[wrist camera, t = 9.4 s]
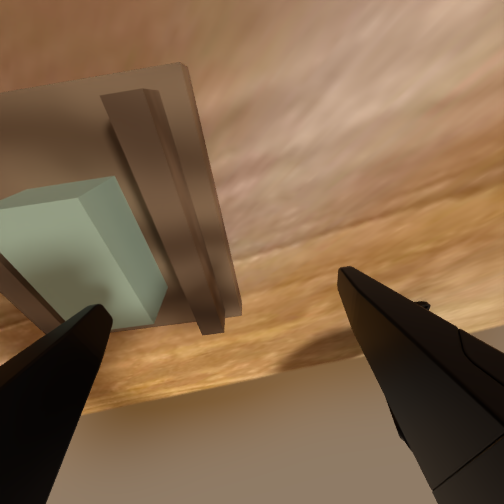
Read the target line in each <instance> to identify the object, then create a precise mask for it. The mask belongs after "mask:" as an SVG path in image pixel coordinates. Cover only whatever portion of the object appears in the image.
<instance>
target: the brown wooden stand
mask: <svg viewBox="0 0 504 504" xmlns="http://www.w3.org/2000/svg"><path fill="white" fill-rule="evenodd" d="M109 176H115V177H116V180H117V182H118V184H119V186H120V188H121V190H122V192H123V194H124V196H125V198H126V200H127V203H128V205H129V207H130V209H131V211H132V213H133V215H134V217H135V219H136V221H137V223H138V226H139V228H140V230H141V232H142V234H143V236H144V238H145V240H146V242H147V244H148V246H149V249H150V251H151V253H152V255H153V257H154V259H155V261H156V263H157V265H158V267H159V269H160V272H161V274H162V276H163V278H164V280H165V282H166V284H167V286H168V289H167V291H166V294H165V296H164V299H163V302H162V304H161V307H160V309H159V312H158V315H157V317H156V320H155V323H154V324H150V325H142V326H135V327H127V328H119V329H111V332H118V331H126V330H134V329H142V328H149V327H157V326H165V325H173V324H181V323H189V322H197V324H198V326H199V329H200V331H201V333H202V335H209V334H217V333H224V325H225V318H228V317H235V316H242V301H241V296H240V292H239V288H238V283H237V279H236V275H235V270H234V266H233V262H232V257H231V253H230V249H229V244H228V240H227V236H226V231H225V227H224V223H223V218H222V214H221V210H220V205H219V201H218V197H217V192H216V188H215V184H214V179H213V175H212V171H211V166H210V162H209V158H208V153H207V149H206V145H205V140H204V136H203V132H202V127H201V123H200V119H199V114H198V110H197V106H196V101H195V97H194V93H193V88H192V84H191V80H190V75H189V71H188V67H187V66H185V65H184V64H182V63H181V62H177V63H172V64H166V65H160V66H154V67H148V68H142V69H137V70H131V71H125V72H119V73H113V74H107V75H102V76H96V77H90V78H84V79H78V80H72V81H67V82H61V83H55V84H49V85H43V86H37V87H32V88H26V89H20V90H14V91H8V92H2V93H0V200H2V199H4V198H7V197H9V196H12V195H14V194H17V193H19V192H21V191H24V190H26V189H32V188H38V187H45V186H51V185H58V184H64V183H71V182H77V181H84V180H90V179H97V178H103V177H109ZM0 293H2V294H3V295H4V296H5V297H6V298H7V299H8V300H9V301H10V302H11V303H12V304H13V305H15V306H16V307H17V308H18V309H19V310H20V311H21V312H22V313H23V314H24V315H25V316H26V317H28V318H29V319H30V320H31V321H32V322H33V323H34V324H35V325H36V326H37V327H38V328H39V329H41V330H42V331H43V332H44V333H45V334H48V333H49V332H51V331H52V330H53V329H55V328H56V327H58V326H59V325H61V324H62V323H64V322H65V320H64V319H63V318H62V317H61V316H60V315H59V314H58V313H57V312H56V311H55V309H54V308H53V307H52V306H51V305H50V304H49V303H48V302H47V301H46V300H45V299H44V298H43V297H42V296H41V295H40V294H39V293H38V292H37V291H36V289H35V288H34V287H33V286H32V285H31V284H30V283H29V282H28V281H27V280H26V279H25V278H24V277H23V276H22V275H21V274H20V273H19V272H18V271H17V269H16V268H15V267H14V266H13V265H12V264H11V263H10V262H9V261H8V260H7V259H6V258H5V257H4V256H3V255H2V254H1V253H0Z"/></svg>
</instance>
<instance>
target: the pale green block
mask: <svg viewBox="0 0 504 504" xmlns="http://www.w3.org/2000/svg"><path fill="white" fill-rule="evenodd" d="M0 253H1V254H2V255H3V256H4V257H5V258H6V259H7V260H8V261H9V262H10V263H11V264H12V265H13V266H14V267H15V268H16V269H17V271H18V272H19V273H20V274H21V275H22V276H23V277H24V278H25V279H26V280H27V281H28V282H29V283H30V284H31V285H32V286H33V287H34V288H35V289H36V291H37V292H38V293H39V294H40V295H41V296H42V297H43V298H44V299H45V300H46V301H47V302H48V303H49V304H50V305H51V306H52V307H53V308H54V309H55V311H56V312H57V313H58V314H59V315H60V316H61V317H62V318H63V319H64V320H65V321H66V320H68V319H69V318H71V317H72V316H74V315H75V314H77V313H78V312H79V311H81V310H82V309H84V308H85V307H87V306H89V305H93V304H102V305H103V306H104V307H105V309H106V310H107V311H108V312H109V314H110V315H111V316H112V318H113V325H112V328H111V329H119V328H127V327H135V326H142V325H150V324H154V323H155V320H156V317H157V315H158V312H159V309H160V307H161V304H162V302H163V299H164V296H165V294H166V291H167V289H168V286H167V284H166V282H165V280H164V278H163V276H162V274H161V272H160V269H159V267H158V265H157V263H156V261H155V259H154V257H153V255H152V253H151V251H150V249H149V246H148V244H147V242H146V240H145V238H144V236H143V234H142V232H141V230H140V228H139V226H138V223H137V221H136V219H135V217H134V215H133V213H132V211H131V209H130V207H129V205H128V203H127V200H126V198H125V196H124V194H123V192H122V190H121V188H120V186H119V184H118V182H117V180H116V177H115V176H109V177H103V178H97V179H90V180H84V181H77V182H71V183H64V184H58V185H51V186H45V187H38V188H32V189H26V190H24V191H21V192H19V193H17V194H14V195H12V196H9V197H7V198H4V199H2V200H0Z"/></svg>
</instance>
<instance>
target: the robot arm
mask: <svg viewBox="0 0 504 504" xmlns="http://www.w3.org/2000/svg"><path fill="white" fill-rule="evenodd" d="M337 287H338V291H339V294H340V297H341V300H342V303H343V305H344V308H345V311H346V314H347V317H348V319H349V322H350V325H351V327H352V330H353V332H354V334H355V336H356V338H357V340H358V342H359V344H360V346H361V348H362V351H363V353H364V355H365V357H366V358H367V361H368V363H369V365H370V366H371V369H372V371H373V373H374V375H375V377H376V379H377V381H378V383H379V385H380V387H381V389H382V391H383V393H384V395H385V397H386V400H387V403H388V406H389V408H390V412H391V414H392V417H393V420H394V423H395V426H396V428H397V431H398V434H399V436H400V438H401V439H402V440H403V441H405V443H406V444H407V446H408V447H409V448H410V450H411V451H412V452H413V454H414V456H415V458H416V460H417V462H418V464H419V466H420V468H421V470H422V472H423V474H424V476H425V478H426V480H427V482H428V484H429V486H430V488H431V489H432V490H433V492H432V493H433V494H434V497H435V499H436V501H437V503H438V504H504V353H503V352H501V351H499V350H497V349H496V348H494V347H492V346H490V345H488V344H486V343H485V342H483V341H481V340H479V339H477V338H476V337H474V336H472V335H470V334H469V333H467V332H465V331H464V330H462V329H458V328H457V327H456V326H455V325H453V324H451V323H449V322H448V321H446V320H444V319H442V318H441V317H439V316H437V315H435V314H434V313H432V312H430V311H428V310H429V308H430V304H429V303H428V302H419V303H415V302H413V301H411V300H409V299H408V298H406V297H404V296H402V295H401V294H399V293H397V292H395V291H394V290H392V289H390V288H388V287H387V286H385V285H383V284H381V283H380V282H378V281H376V280H374V279H373V278H371V277H369V276H367V275H366V274H364V273H362V272H361V271H359V270H357V269H355V268H354V267H351V266H347V267H341V268H339V270H338V281H337ZM112 325H113V318H112V316H111V315H110V314H109V312H108V311H107V310H106V309H105V307H104V306H103V305H102V304H93V305H89V306H87V307H85V308H84V309H82V310H81V311H79V312H78V313H77V314H75V315H74V316H72V317H71V318H69V319H68V320H66V321H65V322H64V323H62V324H61V325H59V326H58V327H56V328H55V329H53V330H52V331H51V332H49V333H48V334H46V335H45V336H43V337H42V338H40V339H39V340H37V341H36V342H35V343H33V344H32V345H30V346H29V347H27V348H26V349H24V350H23V351H22V352H20V353H19V354H17V355H16V356H14V357H13V358H11V359H10V360H9V361H7V362H6V363H4V364H3V365H1V366H0V504H46V502H47V500H48V497H49V494H50V492H51V489H52V487H53V484H54V482H55V479H56V477H57V474H58V472H59V469H60V467H61V464H62V461H63V459H64V456H65V454H66V451H67V449H68V446H69V444H70V441H71V439H72V436H73V434H74V431H75V429H76V426H77V423H78V421H79V418H80V416H81V413H82V411H83V408H84V406H85V403H86V401H87V398H88V396H89V393H90V390H91V388H92V385H93V383H94V380H95V378H96V375H97V373H98V370H99V368H100V365H101V362H102V359H103V356H104V352H105V349H106V345H107V342H108V339H109V335H110V332H111V328H112Z"/></svg>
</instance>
